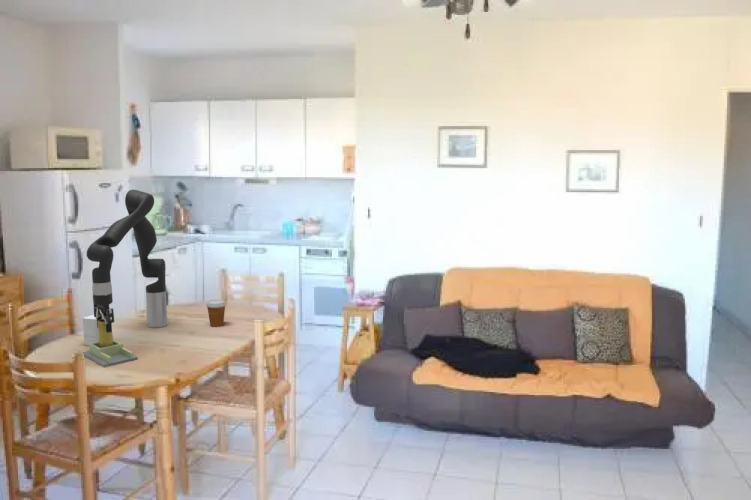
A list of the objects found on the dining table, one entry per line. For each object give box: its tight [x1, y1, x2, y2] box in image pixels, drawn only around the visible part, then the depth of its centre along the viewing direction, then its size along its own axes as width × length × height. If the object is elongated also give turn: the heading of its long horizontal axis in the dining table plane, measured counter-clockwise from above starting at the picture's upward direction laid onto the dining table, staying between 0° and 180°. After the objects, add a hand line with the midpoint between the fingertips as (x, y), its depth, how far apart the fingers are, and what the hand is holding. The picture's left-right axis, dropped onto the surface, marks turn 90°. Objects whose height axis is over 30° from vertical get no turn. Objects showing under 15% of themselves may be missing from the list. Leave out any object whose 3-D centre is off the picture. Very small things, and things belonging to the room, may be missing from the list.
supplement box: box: [82, 313, 103, 347], centre depth 294 cm, size 7×7×13 cm
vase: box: [98, 319, 114, 348], centre depth 278 cm, size 6×6×14 cm
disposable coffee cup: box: [206, 299, 227, 328], centre depth 325 cm, size 10×10×12 cm
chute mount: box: [81, 339, 139, 368], centre depth 276 cm, size 22×14×5 cm, turn 46°
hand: (104, 330), depth 277 cm, fingers open, 8 cm apart
